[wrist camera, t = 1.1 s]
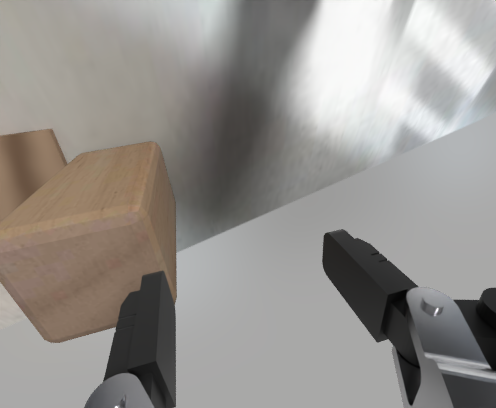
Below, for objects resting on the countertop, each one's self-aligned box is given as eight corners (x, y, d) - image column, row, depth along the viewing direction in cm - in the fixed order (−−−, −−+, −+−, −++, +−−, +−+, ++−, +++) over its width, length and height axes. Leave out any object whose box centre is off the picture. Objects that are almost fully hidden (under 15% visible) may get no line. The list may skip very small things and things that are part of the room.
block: (177, 205, 38) (179, 314, 21) (105, 221, 37) (45, 352, 19) (158, 138, 34) (142, 207, 16) (75, 152, 32) (-41, 245, 15)
